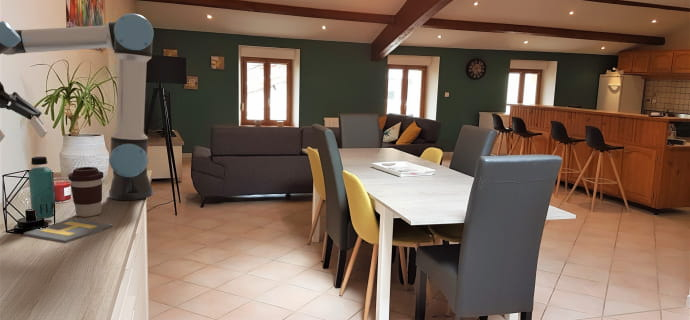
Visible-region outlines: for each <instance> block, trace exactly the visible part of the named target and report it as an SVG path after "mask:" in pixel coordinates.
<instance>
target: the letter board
mask: <svg viewBox="0 0 690 320" xmlns="http://www.w3.org/2000/svg"><path fill="white" fill-rule="evenodd" d="M54 224H55V223H51V224H49V225H47V226H48V227H46V228H42V227H39V228H40V229H38V228H35V229H31V230H28V231H25V232H23V235H24V236H28V237H32V238H38V239H43V240H50V241H54V242H60V243H69V242H72V241H75V240H77V239H80V238H83V237H86V236H89V235H92V234H96V233H98V232H101V231H103V229H104V230H107V229H109V228H112V227H113V224H109V223H104V222H97V221H92V220H87V219H86V220H85V219H78V218H69V219H65V220H62V221H59V222H56V224H55V225H54ZM106 228H107V229H106ZM100 230H101V231H100Z"/></svg>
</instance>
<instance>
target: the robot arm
mask: <svg viewBox="0 0 690 320" xmlns="http://www.w3.org/2000/svg"><path fill="white" fill-rule="evenodd" d="M154 33H155V31H154V28H153V26H152V23H151V22H150V21H149V19H147V18H146V17H144V16H143V15H141V14H137V13H127V14H123V15H121V16H120V17H119V18H117V20H116V21H109V22H106V24H105V25H90V26H73V27H54V28H53V27H51V28H49V27H48V28H33V29H30V28H29V29H14V28H13V27H12V25H10V24H9V22H7V21H4V20H1V21H0V55H2V54H3V55H5V56H6V55H7V56H12V55H17V54H27V53H30V54H31V53H45V52H46V53H47V52H48V53H49V52H62V51H72V50H73V51H76V50H92V49H94V50H95V49H106V48H107V49H108V48H109V49H110V50H111V51H113V54H114V56H116V58H117V60H118V74H117V75H118V77H117V79H118V80H117V100H116V101H117V103H116V124H115V126H116V129H115V132H114V133H112V134H110V135H111V136H110V155H109V158H108V162H109V165H110V168H111V170H112V174H113V175H112V181H111V185H110V189H108V190H109V191H108V197H109V198H110V199H111V200H116V201H135V200H143V199H147V198H150V197H152V196H153V195H154V189H153V187H152V185H151V181H150V178H149V176H148V162H149V158H148V148H149V147H148V145H149V144H148V143H149V137H148V136H147V135H146V133H145V131H144V130H145V129H144V128H145V108H146V107H145V106H146V89H147V88H146V87H147V86H146V85H147V82H146V81H147V63H148V62H149V61H150V60H151V59H152V57H153V40H154V36H155V35H154ZM9 103H10V104H9ZM0 109H6V110H8V111H10V110H11V111H13V112H15V113H16V114H17V115H20V116H22V117H24V118H26V119H28V120H29V121H28V122H29V123H30V125H31V126H32V128H33V129H34V131H36V133H37V135H39V137H40V138H41V139H42V138H44V137H45V136H46V134H47V133H48V131H47V129H46V127H45V126H44V123H43V122H42V121H41V119H40V116H41V115H42V114H43V113H42V111H40V110H39V109H38V108H36V106H34V105H32V104H31V103H30V102H28V101H26V100H25V99H24V98H22V97H21V96H20V94H18V92H16V91H13V92H12V93H11V94H9V93H7V92H6V90H5V88H4V85H3V83H2V82H1V81H0ZM5 137H6V136H5V134H4V133H3V131H2V130H1V129H0V142H2V141H3V139H4V138H5ZM109 198H108V199H109Z"/></svg>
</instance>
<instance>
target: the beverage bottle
mask: <svg viewBox="0 0 690 320" xmlns="http://www.w3.org/2000/svg"><path fill="white" fill-rule="evenodd" d="M47 164H48V160H47V157H46V156H33V157H31V165H33V166H36V167H32V168H31V169H30V170H29V171H28V173H27V174H28V182H29V184H28V185H29V193H30V195H29V196H30V210H31V209H34V210H35V211H36V216H37V217H38V218H43V217H45V219H50V218H53V216H54V214H53V203H54V205H55V206H56V204H55V202H56V201H55V192H54V190H55V187H54V185H55V184H54V181H53V180H54V179H53V170H52V169H50V168H49V167H47V166H42V165H47ZM37 166H38V167H37ZM55 211H56V208H55ZM54 217H55V216H54Z"/></svg>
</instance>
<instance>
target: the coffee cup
mask: <svg viewBox="0 0 690 320" xmlns="http://www.w3.org/2000/svg"><path fill="white" fill-rule="evenodd" d="M103 178H104V172H103V171H100V170H99V169H98V167H95V166H82V167H77V168H74V169H73V171H72V172H71V173H69V174H68V181H70V183H71V185H70V187H71V194H72V201H73V204H74V209H75V213H76V216H77V217H81V218H88V217H94V216H98V215H100V214H101V213H102V201H103V183H102V179H103Z"/></svg>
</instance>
